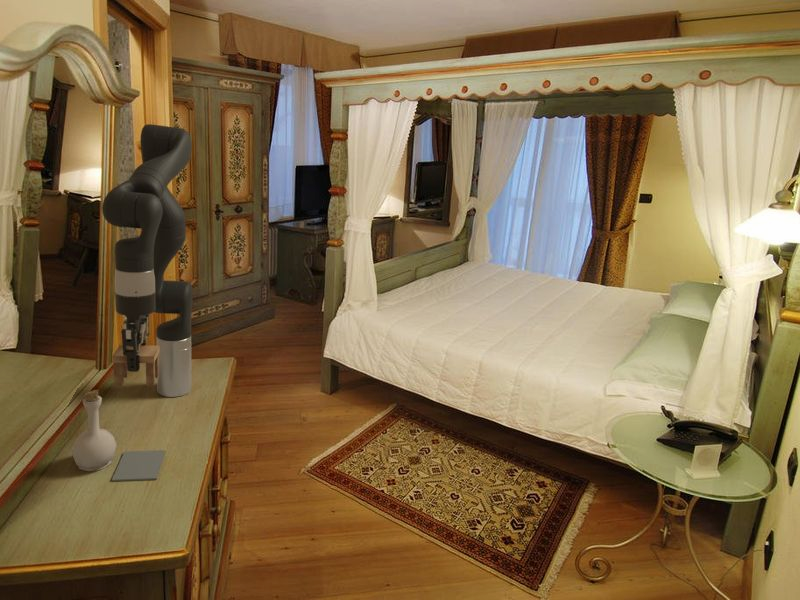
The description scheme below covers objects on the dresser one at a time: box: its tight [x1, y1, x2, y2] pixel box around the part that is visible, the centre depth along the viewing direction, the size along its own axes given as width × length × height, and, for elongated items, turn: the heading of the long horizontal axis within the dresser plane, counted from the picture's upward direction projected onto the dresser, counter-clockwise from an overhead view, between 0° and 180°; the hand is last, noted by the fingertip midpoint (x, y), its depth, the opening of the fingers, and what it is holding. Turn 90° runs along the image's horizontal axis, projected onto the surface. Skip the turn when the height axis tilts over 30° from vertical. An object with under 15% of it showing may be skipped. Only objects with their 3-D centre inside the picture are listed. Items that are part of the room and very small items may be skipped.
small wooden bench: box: [111, 344, 160, 387], centre depth 116 cm, size 8×6×7 cm
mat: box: [111, 449, 167, 482], centre depth 123 cm, size 11×9×1 cm
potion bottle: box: [71, 389, 118, 473], centre depth 120 cm, size 9×9×18 cm
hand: (137, 364), depth 116 cm, fingers closed on small wooden bench, 6 cm apart
